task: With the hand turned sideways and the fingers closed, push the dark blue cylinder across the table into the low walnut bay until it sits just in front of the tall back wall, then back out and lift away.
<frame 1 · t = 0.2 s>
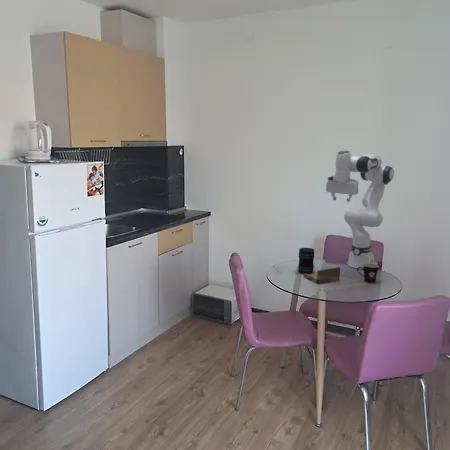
hand: (341, 200, 271), 48 cm above the table, tool pointing down, fingers open, 8 cm apart
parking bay: (320, 278, 276), on the table
dark blue cylinder: (305, 272, 289), on the table
coffee mug: (367, 281, 272), on the table
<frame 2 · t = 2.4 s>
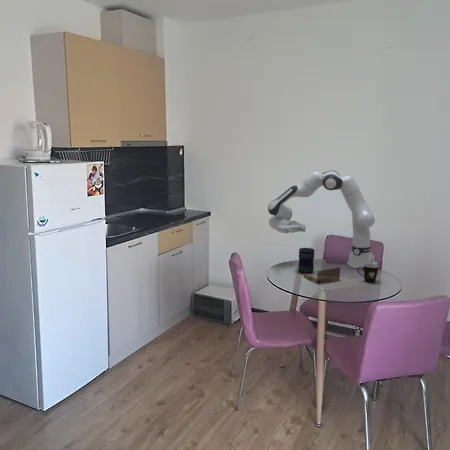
hand: (299, 231, 292), 25 cm above the table, tool horizontal, fingers open, 8 cm apart
nothing on the table moved.
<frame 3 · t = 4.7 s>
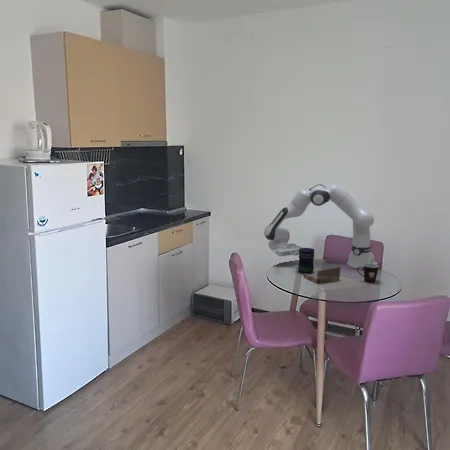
hand: (296, 254, 296), 9 cm above the table, tool horizontal, fingers closed
nothing on the table moved.
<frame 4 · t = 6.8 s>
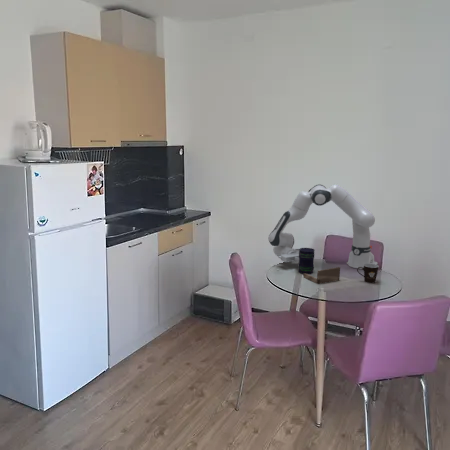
hand: (302, 259, 292), 7 cm above the table, tool horizontal, fingers closed
dark blue cylinder: (305, 272, 289), on the table, touching gripper
everything else where it was.
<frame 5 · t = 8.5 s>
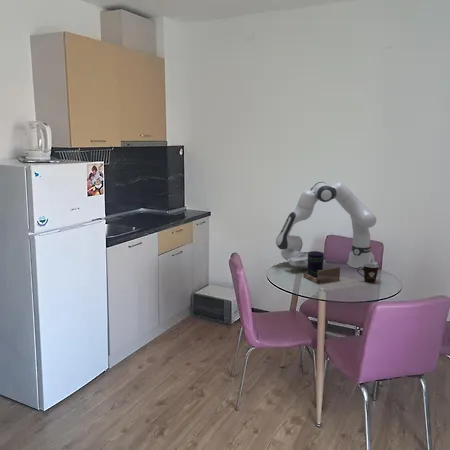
hand: (311, 263, 283), 7 cm above the table, tool horizontal, fingers closed
dark blue cylinder: (314, 276, 281), on the table, touching gripper
everything else where it was.
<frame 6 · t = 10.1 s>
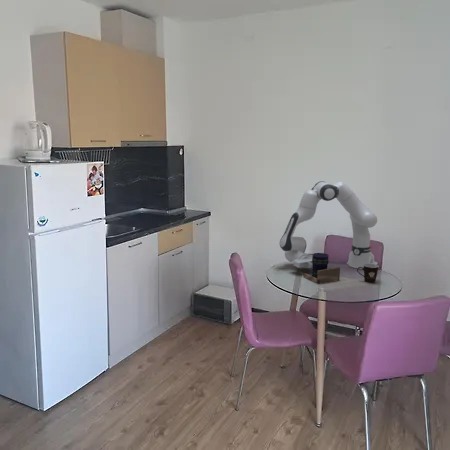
hand: (316, 265, 279), 7 cm above the table, tool horizontal, fingers closed
dark blue cylinder: (319, 278, 277), on the table, touching gripper
everything else where it was.
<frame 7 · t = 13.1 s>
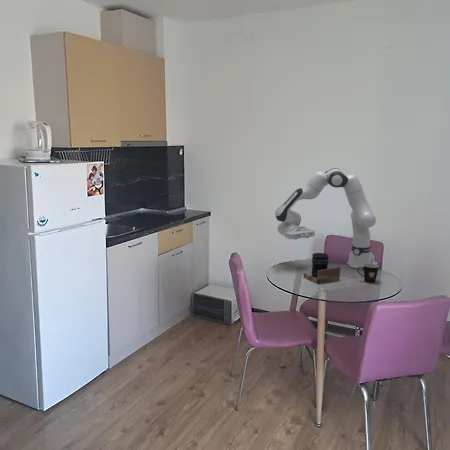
hand: (307, 236, 285), 23 cm above the table, tool horizontal, fingers closed
dark blue cylinder: (319, 278, 277), on the table
everything else where it was.
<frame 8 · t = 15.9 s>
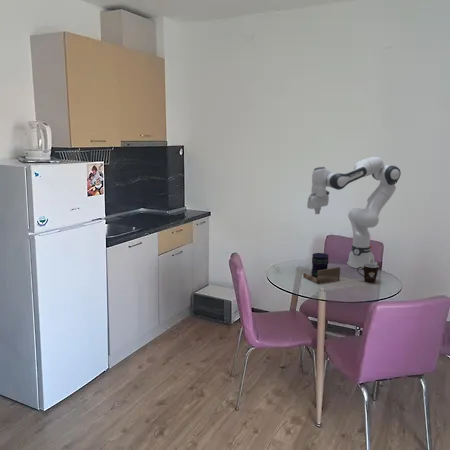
hand: (317, 214, 288), 37 cm above the table, tool pointing down, fingers closed
nothing on the table moved.
at the end: dark blue cylinder 0.9 cm off-centre on the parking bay, point 0.0 cm above the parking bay's base; dark blue cylinder tilted 0°; dark blue cylinder moved 14.3 cm from its start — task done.
